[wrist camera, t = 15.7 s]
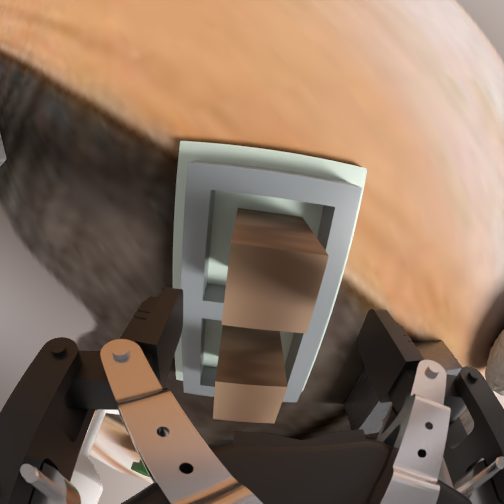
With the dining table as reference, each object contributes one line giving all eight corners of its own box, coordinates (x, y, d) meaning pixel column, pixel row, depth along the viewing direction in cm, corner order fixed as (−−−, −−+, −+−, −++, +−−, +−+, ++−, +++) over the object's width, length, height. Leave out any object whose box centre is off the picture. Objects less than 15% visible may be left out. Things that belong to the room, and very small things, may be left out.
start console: (442, 341, 25) (462, 367, 21) (407, 397, 29) (420, 423, 24) (375, 344, 25) (393, 378, 20) (344, 404, 28) (353, 436, 24)
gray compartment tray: (362, 167, 18) (382, 172, 15) (301, 384, 27) (306, 409, 23) (183, 140, 18) (169, 140, 15) (178, 372, 26) (171, 397, 23)
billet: (278, 323, 22) (287, 387, 16) (269, 361, 24) (274, 423, 17) (223, 317, 22) (215, 381, 15) (220, 356, 24) (212, 418, 17)
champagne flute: (94, 376, 27) (26, 536, 5) (138, 406, 29) (93, 567, 6) (79, 392, 29) (21, 526, 6) (117, 419, 30) (75, 554, 8)
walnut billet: (302, 217, 19) (328, 255, 12) (290, 275, 21) (306, 333, 14) (237, 207, 19) (231, 242, 12) (230, 267, 20) (221, 324, 14)
